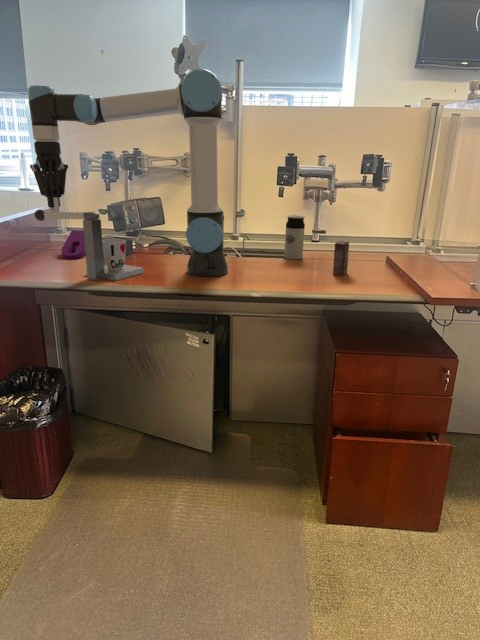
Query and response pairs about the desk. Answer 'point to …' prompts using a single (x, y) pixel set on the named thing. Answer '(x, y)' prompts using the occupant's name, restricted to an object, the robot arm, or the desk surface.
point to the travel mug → (294, 237)
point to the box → (341, 258)
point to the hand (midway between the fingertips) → (55, 217)
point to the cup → (114, 253)
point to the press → (101, 256)
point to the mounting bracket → (74, 245)
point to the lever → (66, 215)
